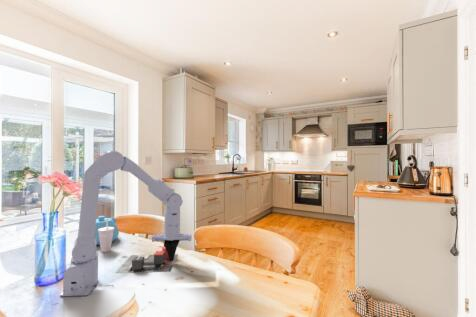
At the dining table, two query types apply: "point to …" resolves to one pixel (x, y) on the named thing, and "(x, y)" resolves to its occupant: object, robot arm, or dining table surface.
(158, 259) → the breaker tagged
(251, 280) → the dining table surface
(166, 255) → the lockout cap
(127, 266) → the breaker panel
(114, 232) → the teapot
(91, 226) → the robot arm
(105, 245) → the smoothie
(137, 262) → the breaker plain
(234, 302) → the dining table surface
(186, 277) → the dining table surface
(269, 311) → the dining table surface
